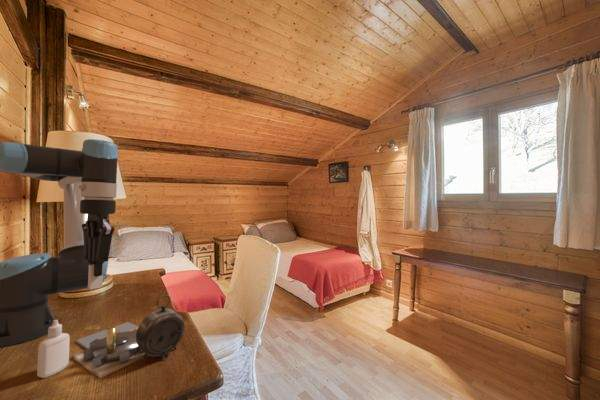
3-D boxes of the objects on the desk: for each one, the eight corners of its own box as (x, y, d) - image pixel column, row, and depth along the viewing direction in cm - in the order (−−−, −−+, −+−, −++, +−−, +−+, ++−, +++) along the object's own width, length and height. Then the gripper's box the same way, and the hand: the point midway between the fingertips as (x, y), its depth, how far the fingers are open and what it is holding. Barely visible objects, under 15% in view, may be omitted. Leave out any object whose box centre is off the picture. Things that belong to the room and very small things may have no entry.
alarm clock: (177, 345, 75) (179, 288, 75) (186, 352, 71) (188, 292, 72) (134, 361, 67) (136, 297, 67) (141, 371, 63) (144, 303, 63)
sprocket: (85, 374, 60) (86, 339, 60) (81, 346, 71) (82, 317, 71) (157, 350, 70) (158, 321, 70) (144, 329, 81) (145, 304, 81)
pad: (75, 342, 75) (75, 339, 75) (128, 323, 87) (128, 321, 87) (88, 350, 71) (88, 348, 71) (141, 330, 83) (141, 327, 83)
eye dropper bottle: (70, 369, 63) (72, 319, 63) (37, 381, 59) (40, 327, 59) (67, 362, 66) (69, 314, 66) (35, 372, 62) (38, 321, 62)
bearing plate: (72, 357, 68) (72, 354, 68) (133, 333, 81) (134, 330, 81) (99, 378, 60) (99, 374, 60) (162, 348, 73) (162, 345, 73)
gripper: (70, 198, 70) (67, 286, 70) (93, 199, 63) (89, 297, 63) (103, 198, 76) (100, 280, 76) (126, 199, 70) (123, 288, 69)
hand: (95, 287), depth 69 cm, fingers closed
